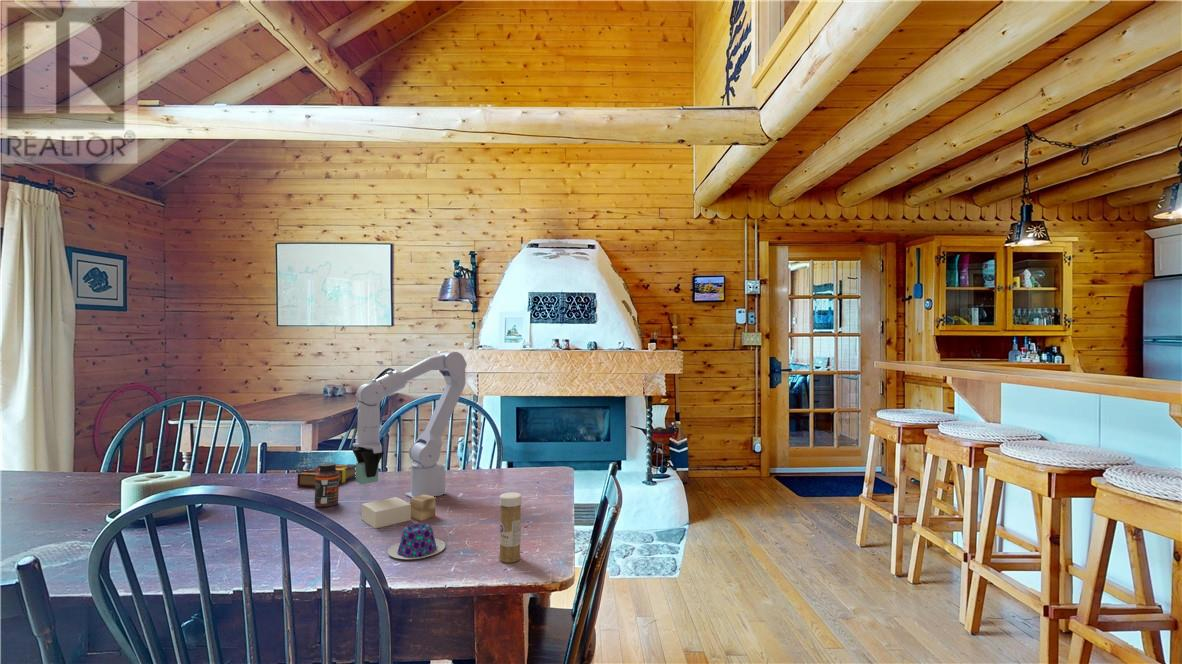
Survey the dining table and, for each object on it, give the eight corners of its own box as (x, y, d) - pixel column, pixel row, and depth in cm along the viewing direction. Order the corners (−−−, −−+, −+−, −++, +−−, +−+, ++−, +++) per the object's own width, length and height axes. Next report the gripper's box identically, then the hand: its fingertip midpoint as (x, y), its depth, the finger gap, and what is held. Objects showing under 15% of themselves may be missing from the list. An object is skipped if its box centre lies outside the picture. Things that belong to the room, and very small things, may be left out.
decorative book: (296, 488, 161) (296, 472, 161) (329, 475, 177) (329, 461, 177) (328, 489, 159) (329, 473, 159) (359, 476, 175) (359, 462, 175)
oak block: (423, 513, 136) (423, 494, 137) (435, 516, 134) (435, 496, 134) (409, 517, 133) (410, 498, 133) (421, 520, 130) (421, 501, 130)
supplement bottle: (328, 508, 140) (329, 467, 140) (309, 507, 141) (310, 465, 141) (343, 502, 145) (344, 462, 146) (324, 500, 147) (325, 461, 147)
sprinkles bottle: (494, 559, 107) (495, 494, 107) (511, 553, 110) (511, 490, 110) (508, 565, 104) (509, 499, 104) (525, 558, 107) (526, 494, 108)
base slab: (395, 511, 137) (396, 496, 137) (410, 520, 131) (410, 504, 131) (361, 519, 131) (361, 503, 131) (375, 528, 124) (375, 512, 124)
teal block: (371, 478, 146) (372, 460, 146) (378, 481, 143) (378, 463, 143) (355, 481, 143) (355, 463, 143) (361, 484, 139) (361, 466, 140)
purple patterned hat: (390, 567, 103) (391, 540, 103) (385, 546, 114) (385, 522, 114) (450, 556, 109) (451, 531, 109) (439, 537, 119) (440, 515, 120)
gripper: (344, 425, 146) (343, 472, 145) (363, 431, 135) (362, 482, 135) (369, 422, 151) (369, 468, 150) (389, 428, 140) (388, 478, 140)
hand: (367, 475), depth 143 cm, fingers closed on teal block, 4 cm apart
